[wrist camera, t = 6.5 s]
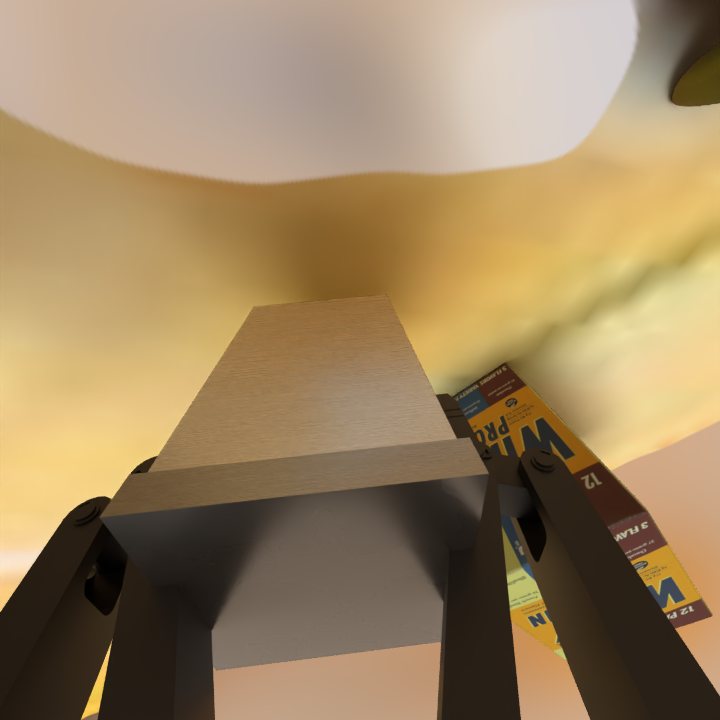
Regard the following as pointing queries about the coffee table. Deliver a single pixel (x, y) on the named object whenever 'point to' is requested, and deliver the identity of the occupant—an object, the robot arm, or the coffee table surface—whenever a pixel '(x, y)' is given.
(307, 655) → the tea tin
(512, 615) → the protein box
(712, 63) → the frog statue
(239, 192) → the coffee table surface
